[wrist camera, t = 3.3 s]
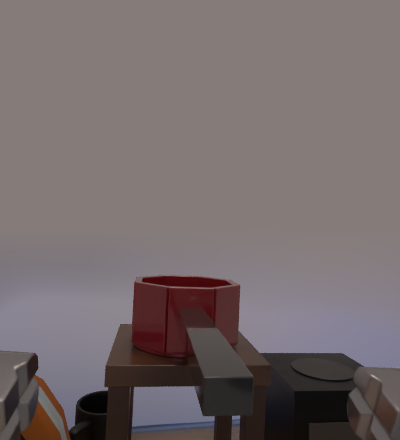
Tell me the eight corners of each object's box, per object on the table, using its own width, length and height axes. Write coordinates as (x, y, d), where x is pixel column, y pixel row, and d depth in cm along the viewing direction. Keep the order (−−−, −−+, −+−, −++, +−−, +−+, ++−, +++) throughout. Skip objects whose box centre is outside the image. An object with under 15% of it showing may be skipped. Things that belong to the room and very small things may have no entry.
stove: (340, 430, 68) (342, 352, 68) (401, 492, 51) (402, 388, 52) (256, 433, 65) (259, 351, 66) (291, 499, 49) (294, 389, 50)
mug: (40, 491, 48) (44, 419, 49) (94, 444, 60) (98, 386, 60) (90, 509, 45) (95, 432, 46) (137, 457, 57) (141, 396, 57)
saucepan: (223, 328, 37) (225, 276, 37) (334, 471, 14) (338, 337, 15) (134, 327, 35) (137, 274, 36) (106, 481, 13) (114, 335, 13)
